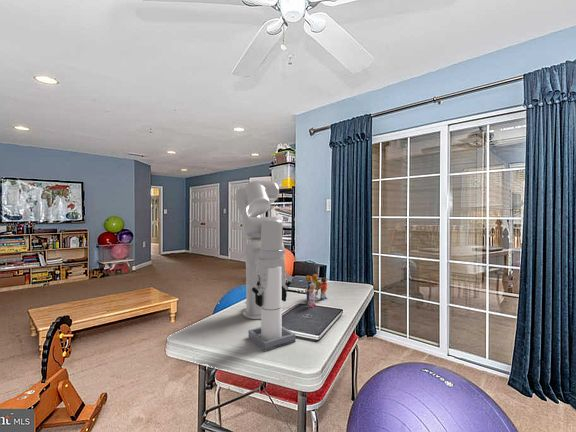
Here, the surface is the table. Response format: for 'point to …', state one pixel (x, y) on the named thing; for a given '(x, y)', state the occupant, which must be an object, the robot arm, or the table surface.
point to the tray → (267, 345)
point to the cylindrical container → (272, 306)
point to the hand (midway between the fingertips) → (271, 302)
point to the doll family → (315, 289)
